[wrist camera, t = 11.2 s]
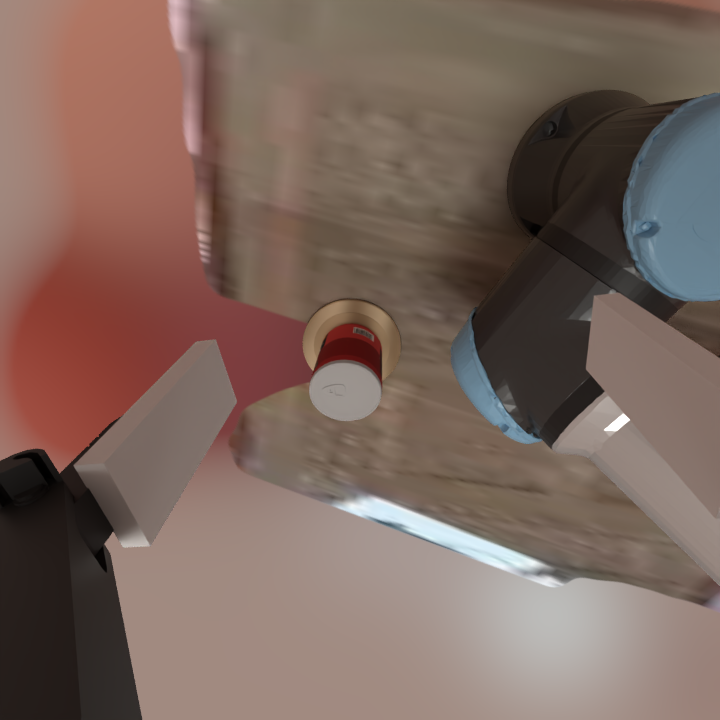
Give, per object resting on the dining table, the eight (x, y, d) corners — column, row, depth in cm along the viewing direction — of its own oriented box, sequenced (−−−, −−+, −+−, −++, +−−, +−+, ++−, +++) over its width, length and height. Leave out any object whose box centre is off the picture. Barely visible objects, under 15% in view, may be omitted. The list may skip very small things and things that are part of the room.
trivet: (399, 296, 51) (399, 298, 51) (401, 384, 57) (402, 388, 57) (297, 301, 52) (295, 304, 52) (310, 387, 58) (309, 391, 58)
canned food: (314, 329, 53) (298, 371, 43) (373, 314, 52) (371, 355, 42) (331, 378, 56) (321, 428, 47) (388, 366, 55) (389, 414, 45)
